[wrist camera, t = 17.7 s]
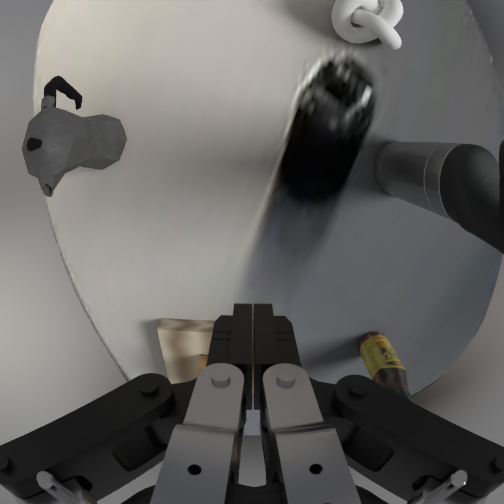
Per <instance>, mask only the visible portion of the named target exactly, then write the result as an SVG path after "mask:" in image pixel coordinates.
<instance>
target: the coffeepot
mask: <svg viewBox="0 0 504 504" xmlns="http://www.w3.org/2000/svg"><path fill="white" fill-rule="evenodd" d="M56 90H58V91H60V92H61V93H64V94H65V95H66V96H67V97H68V98H70V99H73V100H75V104H76V110H77V109H80V108H81V103H82V96H81V95H80V94H79V93H78V92H77V91H76V90H75V89H74V88H73V87H72V86H71V85H70V84H68V83H67V82H66V81H65V80H64V79H63V78H62V77H60V76H56V77H54V78H53V79H52V80H51V81H50V82H49V83H48V84H47V85H46V86H45V88H44V98H43V99H42V104H41V112H39V113H38V114H37V115H36V116H35V117H34V118H33V119H32V120H31V121H30V122H29V125H28V128H27V131H26V135H25V139H24V143H23V147H22V151H23V155H24V159H25V162H26V166H27V169H28V172H29V174H31V175H33V176H35V177H37V178H38V180H39V183H40V186H41V189H42V190H43V193H44V194H45V195H46V196H48V197H51V196H52V195H53V191H54V189H55V187H56V186H57V184H58V183H59V181H60V180H61V178H62V177H63V176H64V174H65V173H67V172H69V171H71V170H73V169H75V168H77V167H78V166H82V167H89V168H95V169H101V170H102V169H104V168H106V167H108V166H110V165H111V164H113V163H114V162H116V161H118V160H119V159H120V156H121V154H122V151H123V149H124V146H125V142H126V135H125V132H124V129H123V126H122V125H121V122H120V120H119V119H116V118H113V117H110V116H106V115H96V116H90V117H84V118H83V117H80V116H78V115H75V114H73V113H70V112H68V111H66V110H62V109H59V108H56Z"/></svg>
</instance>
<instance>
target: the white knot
mask: <svg viewBox="0 0 504 504" xmlns="http://www.w3.org/2000/svg"><path fill="white" fill-rule="evenodd" d="M380 6H382V7H384V8H383V10H382V11H381V8H380ZM402 15H403V6H402V3H401V2H400V0H336V1H335V3H334V5H333V8H332V13H331V20H332V24H333V27H334V29H335V31H336V33H337V34H338V35H339V36H340V37H341V38H342V39H344V40H346V41H348V42H351V43H357V44H359V43H366V42H369V41H372V40H375V39H377V38H379V40H380V41H381V42H382V43H383V44H384V45H385V46H386V47H387V48H389V49H393V50H395V49H398V48H399V47H400V46H401V39H400V37H399V35H398V33H397V32H396V31H395V29H394V28H393V27H394V26H395V25H396V24H397V23H398V22H399V20H400V19H401V17H402ZM351 22H352V23H355V24H358V25H361V26H360V27H353V26H352V24H351Z"/></svg>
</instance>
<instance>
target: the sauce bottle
mask: <svg viewBox="0 0 504 504" xmlns="http://www.w3.org/2000/svg"><path fill="white" fill-rule="evenodd" d="M359 350H360V354H361V356H362V358H363V360H364V363H365V365H366V367H367V370H368V372H369V374H370V377H371V379H372V380H373V381H375V382H376V383H378V384H380V385H382V386H383V387H385V388H387V389H389V390H391V391H392V392H394V393H396V394H398V395H400V396H402V397H403V398H405V399H407V400H409V401H411V402H413V403H415V401H414V400H413V399H412V397H411V395H410V393H409V390H408V386H407V374H406V370H405V368H404V367H403V365H402V363H401V361H400V359H399V358H398V356H397V355H396V353H395V351H394V350H393V348H392V346H391V345H390V343H389V341H388V340H387V338H386V337H385V336H384V335H383V334H382V333H380V332H371V333H369V334H368V335H366V336H365V337H364V338H363V339H362V340H361V342H360V345H359ZM415 404H416V403H415Z"/></svg>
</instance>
